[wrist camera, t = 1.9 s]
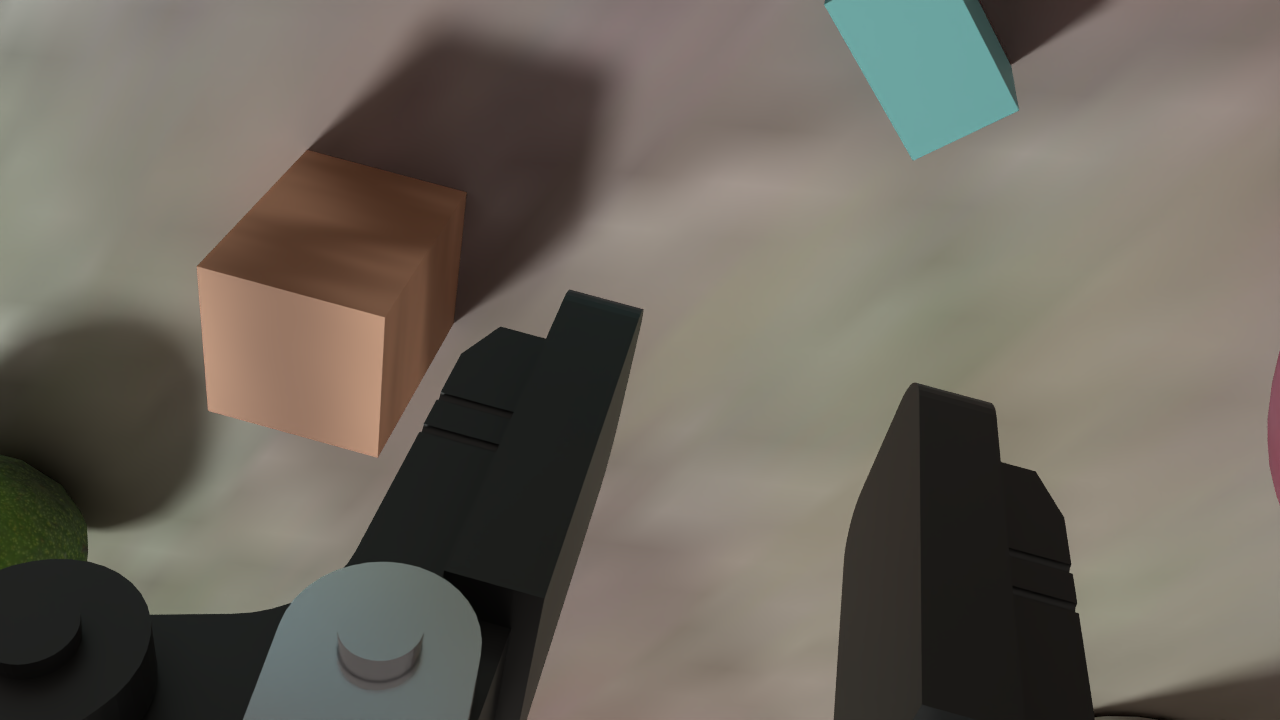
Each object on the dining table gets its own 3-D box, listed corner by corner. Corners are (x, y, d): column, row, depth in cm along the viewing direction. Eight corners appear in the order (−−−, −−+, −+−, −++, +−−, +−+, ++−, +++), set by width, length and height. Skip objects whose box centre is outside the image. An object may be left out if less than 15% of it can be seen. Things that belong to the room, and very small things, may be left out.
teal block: (830, -33, 25) (824, 4, 23) (931, -92, 24) (933, -58, 22) (913, 114, 26) (912, 160, 25) (1011, 65, 25) (1018, 110, 23)
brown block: (467, 191, 30) (384, 317, 25) (453, 322, 33) (377, 457, 28) (307, 149, 30) (196, 266, 26) (307, 283, 33) (207, 410, 28)
